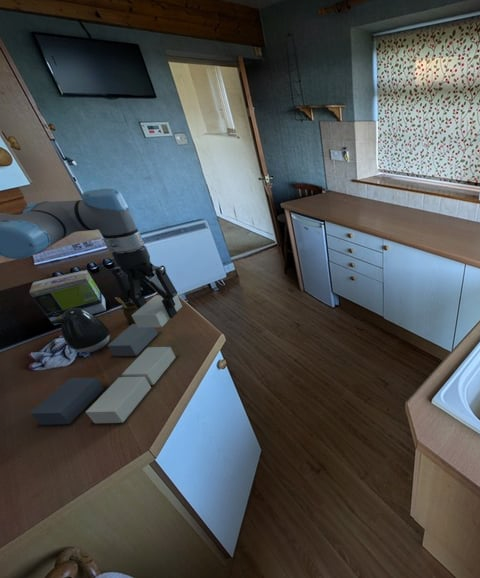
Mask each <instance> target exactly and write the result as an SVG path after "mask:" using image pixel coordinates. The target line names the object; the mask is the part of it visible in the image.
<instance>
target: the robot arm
mask: <svg viewBox="0 0 480 578" xmlns="http://www.w3.org/2000/svg"><path fill="white" fill-rule="evenodd" d="M81 198H82V199H77V200H59V201H57V200H56V201H49V200H47V201H41V202H33V203H29V204H27V205H25V209H24V210H23V211H22V213H19V214H10V213H3V212H0V256H2V257H4V258H6V259H12V260H23V259H28V258H31V257H33V256H35V255H39V254H41V253H42V252H45V250H46V249H48V248H50V247H52V246H53V245H55V244H56V243H58V242H59V241H62V240H63V239H65V238H67V237H69V236H71V235H72V234H74V233H78V232H88V231H89V232H91V231H99V233H100V234H101V236H102V238H103V240H104V241H105V243H106V245H107V247H108V250H109V251H110V252H111V256H112V257H113V259H114V261H115V263H116V264H117V266H116V267H114V268H112V269H111V270H110V272H111V273H112V275H113V276H114V277H115V279H116V282H117V285H118V287H119V289H120V292H121V294H122V297H123V299H125V300H131V301H134V303H135V305H136V307H137V308H138V309H140V308H141V307H142V306H143V305H145V304H146V303H147V302H148V301H147V299H146V298H145V296H144V295H143V293H141V282H140V281H141V280H143V281H144V282H145V283H147V284H149V285H150V286H151V287H152V288H153V289H154V291H156V293H157V294H158V295H160V296H161V297H162V298H163V300H162V303H163V305H164V307H165V309H166V311H167V313H168V315H169V317H170V319H173V318H174V317H175V316H176V315H177V314H178V311H177V312H176V309H175V307H174V306H175V303H174V300H173V297H174V296H175V295H178V291H177V289H176V288H175V286H174V283H173V282H172V280H171V278H170V276H169V275H168V273H167V270H166V266H165V265H160V266H157V265H155V264H154V263H153V262H152V261H151V255H150V252H149V251H148V249H147V247H146V245H145V241H144V240H143V237H142V235H141V233H140V231H139V229H138V227H137V225H136V222H135V220H134V218H133V215H132V213H131V211H130V209H129V205H128V204H127V201H125V199H124V197H123V195H122V193H121V192H120V191H119V190H117V189H115V188H100V189H91V190H86V191H83V193H82V194H81ZM142 295H143V296H142ZM128 298H129V299H128Z"/></svg>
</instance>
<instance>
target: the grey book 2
mask: <svg viewBox="0 0 480 578" xmlns="http://www.w3.org/2000/svg"><path fill="white" fill-rule="evenodd" d="M158 334H159V333H158V331H157V329H156V327H139V328H138V326H137V325H136V323H135V324H132V323H131V325H129V326H128V327H126V329H125V330H123V331H122V332H121V333H120V334H119V335H117V337H115V338H114V339H113V340H112V341H111V342H110V343H108V344H107V348H108V349H109V350H110V352H111V354H112V355H113V356H114V357H137V356H139V354H140V353H142V352H143V350H144V349H145V347H146V346H148V345H149V344H150V342H152V340H153V339H154V338H156V337H157V335H158Z"/></svg>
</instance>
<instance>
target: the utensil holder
mask: <svg viewBox="0 0 480 578" xmlns="http://www.w3.org/2000/svg"><path fill="white" fill-rule="evenodd" d="M114 299H115V300H116V301H117V302H118V304H121V309H122V310H123V311H122V312H123V315H124V317H125V319H126V320H127V322H128V323H129V324H131V325H132V324H136V323H135V321H134V319H133V317H132V316H131V315H133V314H134V313H135V312H136V311H137V310H139V309H138V308H137V307H136V305H135V303H134V301H133V300H131V299H129V298H128V299H127V300H128V301H127V302H124V301H123V300H122V299H121V298H120V297H117V296H116V297H115V296H114Z"/></svg>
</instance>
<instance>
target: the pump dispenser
mask: <svg viewBox="0 0 480 578" xmlns="http://www.w3.org/2000/svg"><path fill="white" fill-rule="evenodd" d="M50 323H51V324H52V325H53V324H57V325H59V324H58V323H61V324H60V329H61V334H62V337H63V339H64V342H65V343H66V346H67V347H68V348H69V349H71V350H73V351H74V352H77V351H78V353H81V352H87V353H86V354H88V353H89V354H90V353H93V352H96V351H99V350H101V349H102V348H104V347H105V346H106V345H108V344H109V341H110V332H111V331H110V329H109V328H108V326H107V325H105V324H104V322H102V320H100V318H98V317H97V316H96V315H94V314H91V313H90V312H88V311H86V310H84V309H81V308H71V309H68V310H66V311H65V312H64V313H63V315H62V317H61V319H57V320H53V321H50Z"/></svg>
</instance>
